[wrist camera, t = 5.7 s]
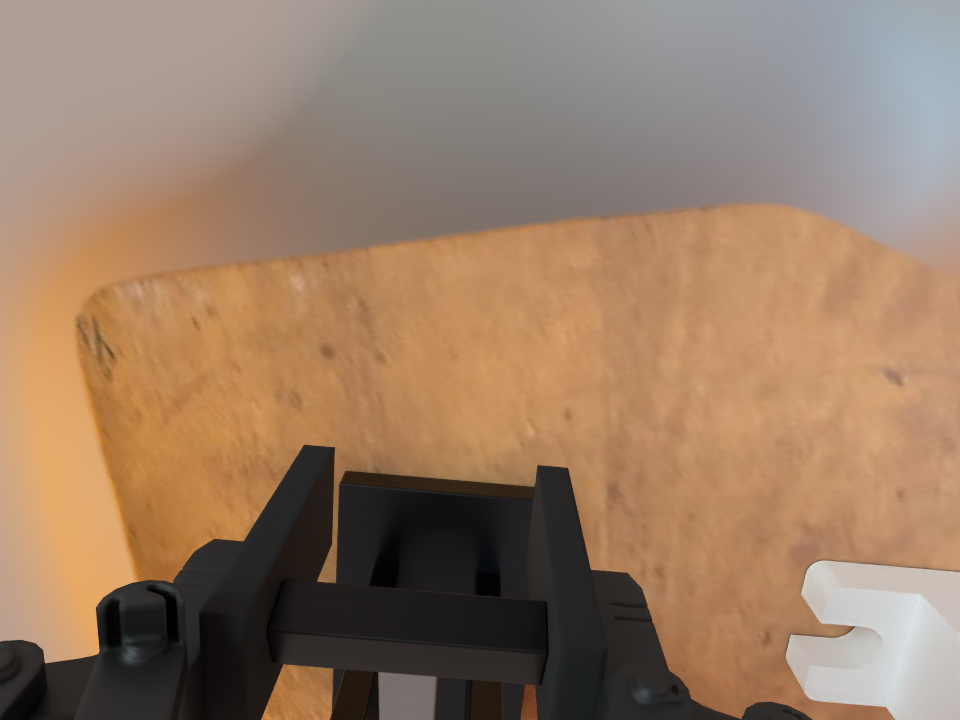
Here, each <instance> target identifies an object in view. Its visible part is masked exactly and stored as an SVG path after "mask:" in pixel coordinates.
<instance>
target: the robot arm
mask: <svg viewBox="0 0 960 720" xmlns="http://www.w3.org/2000/svg"><path fill="white" fill-rule="evenodd" d="M334 456H335V447H323V446H312V445H304V446H303V448H302V449H301V451H300V452H299V454H298V456H297V457H296V459H295V460H294V462H293V464H292V465H291V467H290V468H289V470H288V472H287V473H286V475H285V476H284V478H283V480H282V481H281V483H280V484H279V486H278V487H277V489H276V491H275V492H274V494H273V495H272V497H271V499H270V500H269V502H268V503H267V505H266V507H265V508H264V510H263V511H262V513H261V515H260V516H259V518H258V519H257V521H256V523H255V524H254V526H253V527H252V529H251V531H250V532H249V534H248V535H247V537H246V538H245V540H244V542H243V541H232V540H220V539H213V540H212V541H210V542H209V543H207V544H205V545H204V546H202V547H201V548H199V549H198V550H196V551H195V552H194V553H193V554H192V556H191V557H190V558H189V560H188V561H187V562H186V564H185V565H184V566H183V570H181V571H180V572H179V573H178V575H177V576H176V577H175V579H174V581H173V583H170V582H167V581H157V580H147V581H141V582H135V583H131V584H128V585H125V586H123V587H120V588H118V589H116V590H114V591H113V592H111V593H110V594H108V595H107V596H105V597H104V598H103V599H102V600H101V602H100V603H99V604H98V606H97V607H96V614H97V626H98V637H99V649H100V652H99V654H97V655H94V656H90V657H85V658H80V659H74V660H66V661H59V662H52V663H45V662H44V654H43V650H42V649H41V648H40V647H39V646H38V645H37V644H35V643H32V642H28V641H23V640H13V641H2V642H0V720H261V718H262V716H263V713H264V711H265V708H266V706H267V703H268V701H269V699H270V696H271V694H272V691H273V689H274V686H275V684H276V681H277V679H278V676H279V674H280V671H281V669H282V666H283V664H275V663H273V661H272V656H271V650H270V645H269V639H268V634H267V627H268V624H269V621H270V618H271V615H272V611H273V608H274V605H275V602H276V599H277V596H278V593H279V590H280V587H281V583H282V581H283V580H284V579H290V580H301V581H313V582H317V580H318V577H319V575H320V572H321V570H322V567H323V565H324V562H325V560H326V557H327V555H328V552H329V550H330V548H331V545H332V527H333V491H334ZM526 566H527V580H528V593H529V600H539V601H546V603H547V617H548V645H549V654H548V658H547V662H546V667H545V671H544V675H543V679H542V683H541V685H535V688H536V701H537V715H538V720H812V719H811V718H809V717H808V716H807V715H805V714H804V713H802V712H800V711H798V710H796V709H794V708H792V707H789V706H787V705H783V704H778V703H774V702H761V703H755V704H754V705H752V706H750V707H748V708H747V709H746V711H745V713H744V715H743V717H742V719H739V718H736V717H733V716H730V715H726V714H723V713H720V712H717V711H714V710H712V709H710V708H707V707H705V706H702V705H701V704H699V703H697V702H696V701H694V700H692V699H691V697H690V694H689V690H688V688H687V687H686V686H685V684H684V683H683V682H682V681H681V679H680V678H679V677H677V676H676V675H674V674H673V673H672V672H670V671H669V669H668V666H667V663H666V660H665V657H664V654H663V651H662V648H661V645H660V642H659V639H658V636H657V633H656V630H655V627H654V624H653V623H652V618H651V615H650V612H649V609H647V606H648V605H647V602H646V599H645V596H644V593H643V590H642V588H641V587H640V586H639V585H638V584H637V583H636V582H635V581H634V580H633V579H632V577H631V576H630V575H629V574H628V573H622V572H610V571H599V570H591V569H590V564H589V560H588V555H587V551H586V546H585V542H584V537H583V533H582V528H581V524H580V519H579V515H578V511H577V506H576V502H575V497H574V493H573V488H572V484H571V479H570V475H569V470H568V468H563V467H552V466H540V465H538V466H537V475H536V483H535V491H534V499H533V508H532V516H531V524H530V532H529V541H528V549H527V557H526Z"/></svg>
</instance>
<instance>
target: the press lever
mask: <svg viewBox="0 0 960 720" xmlns="http://www.w3.org/2000/svg"><path fill="white" fill-rule="evenodd" d="M267 634H268V639H269V645H270V650H271V656H272V661H273V663H275V664H287V665H299V666H311V667H323V668H335V669H347V670H359V671H371V672H378V683H379V720H435V710H436V696H437V682H438V677H443V678H455V679H467V680H479V681H491V682H503V683H515V684H527V685H541V683H542V679H543V675H544V671H545V667H546V662H547V658H548V654H549V645H548V617H547V603H546V601H539V600H527V599H515V598H503V597H491V596H479V595H468V594H456V593H444V592H432V591H420V590H408V589H396V588H385V587H373V586H361V585H349V584H337V583H325V582H313V581H301V580H290V579H284V580H283V581H282V583H281V587H280V590H279V593H278V596H277V599H276V602H275V605H274V608H273V611H272V615H271V618H270V621H269V624H268V627H267Z"/></svg>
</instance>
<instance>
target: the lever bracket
mask: <svg viewBox="0 0 960 720" xmlns="http://www.w3.org/2000/svg"><path fill="white" fill-rule="evenodd" d="M534 491H535V487H528V486H516V485H504V484H492V483H481V482H469V481H457V480H446V479H434V478H422V477H411V476H399V475H387V474H375V473H364V472H352V471H345V473H344V475H343V477H342V479H341V482H340V484H339V503H338V535H337V567H336V583H337V584H349V585H361V586H373V587H385V588H396V589H408V590H420V591H432V592H444V593H456V594H468V595H479V596H491V597H503V598H515V599H527V600H529V593H528V580H527V566H526V557H527V549H528V541H529V532H530V524H531V516H532V508H533V499H534ZM524 687H525V684H515V683H503V682H491V681H479V680H467V679H455V678H443V677H438V682H437V696H436V710H435V720H520V719H521V711H522V703H523V695H524ZM330 720H379V683H378V672H371V671H359V670H347V669H335V668H333V694H332V714H331V718H330Z"/></svg>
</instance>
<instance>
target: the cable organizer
mask: <svg viewBox="0 0 960 720" xmlns="http://www.w3.org/2000/svg"><path fill="white" fill-rule="evenodd" d="M801 595H802V596H803V598H804V599H805V601H806V602H807V604H808V605H809V606H810V608H811V609H812V611H813V612H814V614H815V615H816V617H817V618H818V619H819V621H820V622H821V623H824V624H836V625H847V626H855V627H854V629H853V630H852V631H850V632H849V633H848V634H846V635H844V636H841V637H837V638H827V637H815V636H803V635H792V634H791V636H790V640H789V644H788V648H787V652H786V661H787V663H788V665H789V666H790V668H791V670H792V672H793V673H794V675H795V677H796V679H797V680H798V682H799V684H800V686H801V687H802V689H803V691H804V693H805V694H806V696H807V697H808V698H810V699H811V700H814V701H822V702H834V703H846V704H857V705H869V706H881V707H886V708H887V709H888V710H889V712H890V713H891V715H892V716H893V717H894V719H895V720H960V572H952V571H941V570H929V569H918V568H906V567H894V566H883V565H871V564H860V563H848V562H837V561H818V562H816V563H814V564H812V565H811V566H810V567H809V568H808V570H807V572H806V576H805V580H804V584H803V588H802V592H801Z"/></svg>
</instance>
